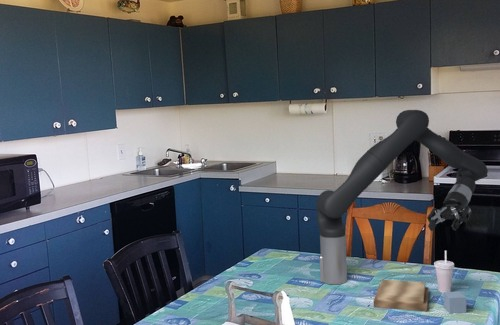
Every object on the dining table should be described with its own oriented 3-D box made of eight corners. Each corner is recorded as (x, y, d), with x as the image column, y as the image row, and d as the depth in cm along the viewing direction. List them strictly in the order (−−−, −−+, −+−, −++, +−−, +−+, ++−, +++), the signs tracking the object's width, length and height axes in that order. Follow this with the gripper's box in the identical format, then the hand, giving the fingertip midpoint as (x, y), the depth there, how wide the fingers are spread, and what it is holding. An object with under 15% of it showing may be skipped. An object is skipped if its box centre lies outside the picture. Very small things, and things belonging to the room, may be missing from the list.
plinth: (373, 307, 166) (373, 294, 165) (379, 289, 181) (379, 278, 180) (426, 311, 160) (426, 298, 160) (428, 293, 175) (428, 281, 175)
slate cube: (449, 314, 158) (449, 298, 157) (443, 307, 163) (443, 292, 162) (466, 313, 158) (466, 297, 157) (459, 306, 162) (459, 291, 162)
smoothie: (456, 294, 172) (455, 253, 171) (435, 294, 173) (435, 253, 172) (452, 287, 178) (452, 248, 177) (433, 287, 180) (432, 247, 178)
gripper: (435, 192, 192) (418, 221, 182) (472, 189, 181) (457, 219, 172) (443, 208, 194) (427, 237, 185) (481, 206, 183) (466, 236, 174)
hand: (441, 228), depth 178 cm, fingers open, 8 cm apart
